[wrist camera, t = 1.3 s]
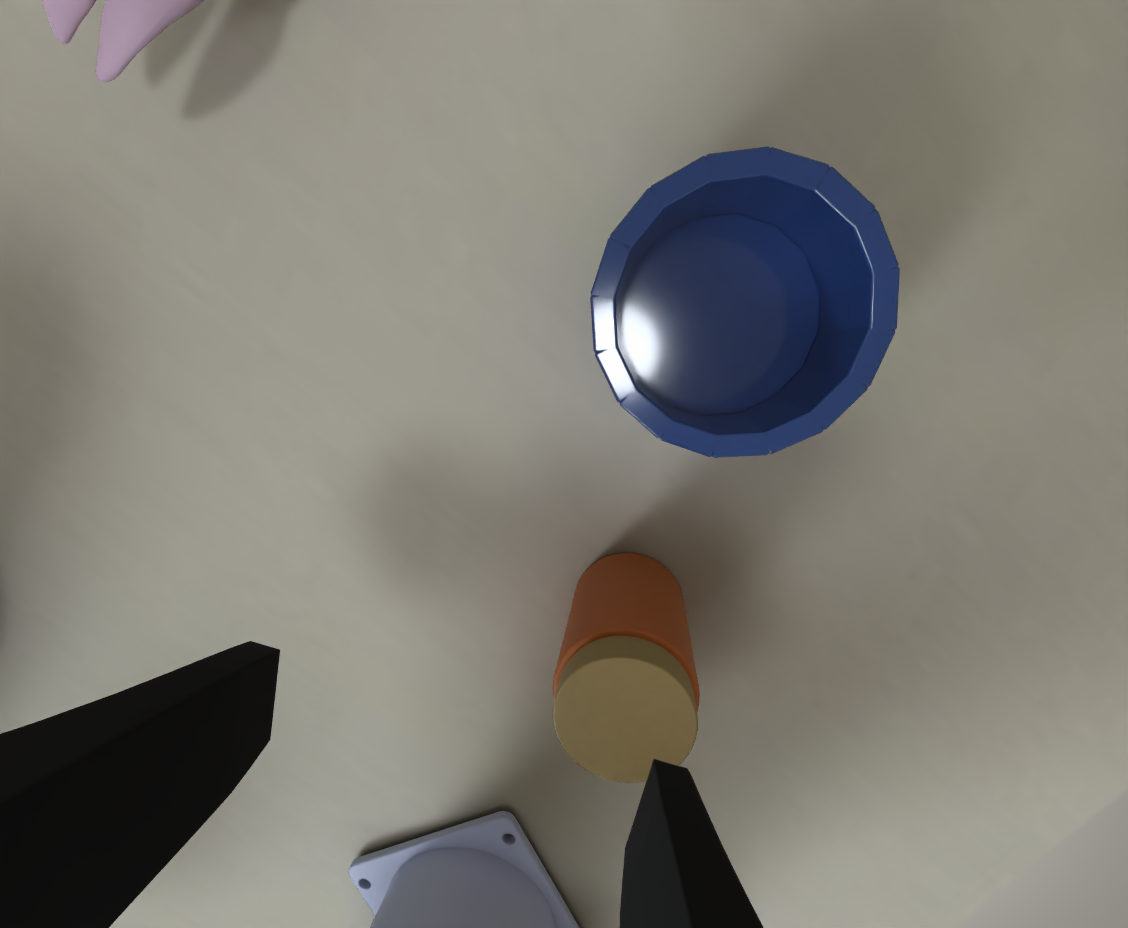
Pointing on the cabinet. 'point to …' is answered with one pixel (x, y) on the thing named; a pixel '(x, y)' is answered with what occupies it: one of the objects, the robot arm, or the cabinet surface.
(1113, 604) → the cabinet surface
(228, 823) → the cabinet surface
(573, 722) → the cream-capped orange cylinder
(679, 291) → the cup
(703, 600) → the cabinet surface
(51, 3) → the pink toy
